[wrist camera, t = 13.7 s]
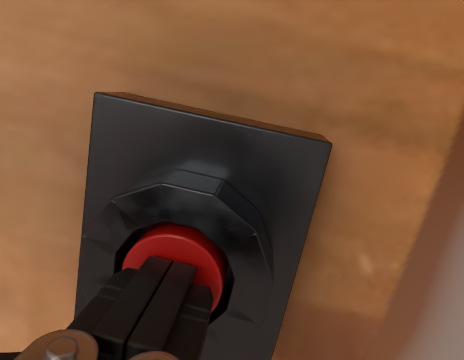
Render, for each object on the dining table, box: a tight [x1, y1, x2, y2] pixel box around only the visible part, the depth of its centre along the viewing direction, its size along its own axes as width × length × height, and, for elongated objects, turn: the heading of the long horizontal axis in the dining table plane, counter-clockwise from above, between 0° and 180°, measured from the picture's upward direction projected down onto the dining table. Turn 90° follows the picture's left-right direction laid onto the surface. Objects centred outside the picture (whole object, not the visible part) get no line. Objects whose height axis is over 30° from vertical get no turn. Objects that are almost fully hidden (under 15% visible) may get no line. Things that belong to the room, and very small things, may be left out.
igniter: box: [74, 92, 332, 360], centre depth 12 cm, size 10×8×4 cm
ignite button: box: [122, 222, 228, 312], centre depth 11 cm, size 3×3×2 cm
